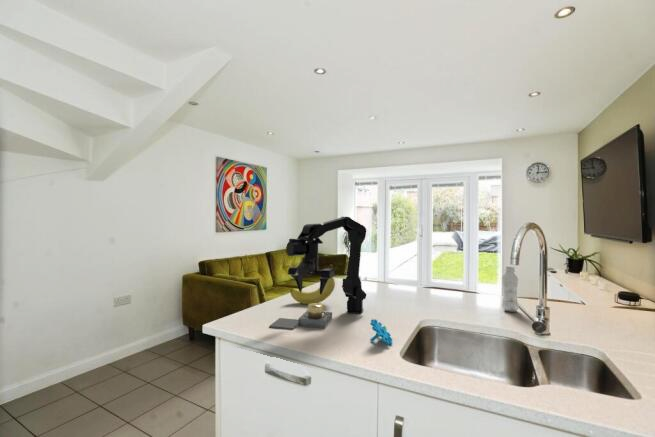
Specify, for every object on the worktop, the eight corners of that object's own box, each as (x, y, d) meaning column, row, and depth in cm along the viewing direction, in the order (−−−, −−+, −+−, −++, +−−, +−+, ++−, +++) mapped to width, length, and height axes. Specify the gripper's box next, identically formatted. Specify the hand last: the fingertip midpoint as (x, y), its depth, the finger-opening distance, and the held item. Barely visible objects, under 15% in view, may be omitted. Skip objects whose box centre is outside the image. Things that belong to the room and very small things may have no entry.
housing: (332, 319, 131) (332, 312, 131) (325, 328, 121) (325, 320, 121) (307, 317, 134) (307, 310, 134) (298, 325, 124) (298, 318, 123)
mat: (302, 321, 129) (302, 319, 129) (293, 329, 119) (293, 328, 119) (279, 319, 132) (279, 317, 132) (269, 327, 122) (269, 325, 122)
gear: (390, 345, 100) (369, 320, 104) (377, 356, 102) (357, 331, 105) (397, 338, 110) (378, 315, 114) (385, 348, 111) (367, 325, 115)
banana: (288, 304, 154) (288, 264, 154) (292, 301, 160) (291, 262, 160) (334, 306, 150) (333, 265, 150) (335, 303, 156) (335, 263, 156)
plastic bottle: (503, 312, 140) (503, 268, 140) (501, 308, 146) (500, 265, 146) (519, 314, 137) (519, 268, 137) (516, 309, 144) (516, 266, 143)
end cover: (325, 320, 130) (325, 303, 130) (321, 326, 123) (321, 307, 123) (310, 319, 131) (310, 302, 131) (305, 324, 125) (305, 306, 125)
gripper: (281, 255, 124) (280, 294, 123) (324, 258, 116) (323, 300, 116) (294, 252, 134) (294, 289, 134) (335, 255, 127) (334, 293, 126)
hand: (310, 293), depth 127 cm, fingers open, 9 cm apart
